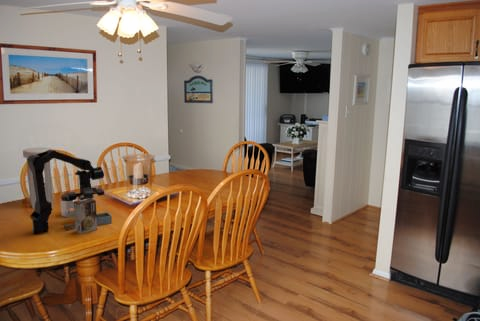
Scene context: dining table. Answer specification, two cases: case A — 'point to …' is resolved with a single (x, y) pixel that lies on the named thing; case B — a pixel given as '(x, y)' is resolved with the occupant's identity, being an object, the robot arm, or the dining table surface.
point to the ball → (71, 211)
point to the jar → (66, 204)
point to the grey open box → (104, 218)
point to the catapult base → (70, 227)
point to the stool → (46, 171)
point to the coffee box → (85, 215)
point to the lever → (69, 214)
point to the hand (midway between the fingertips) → (86, 208)
